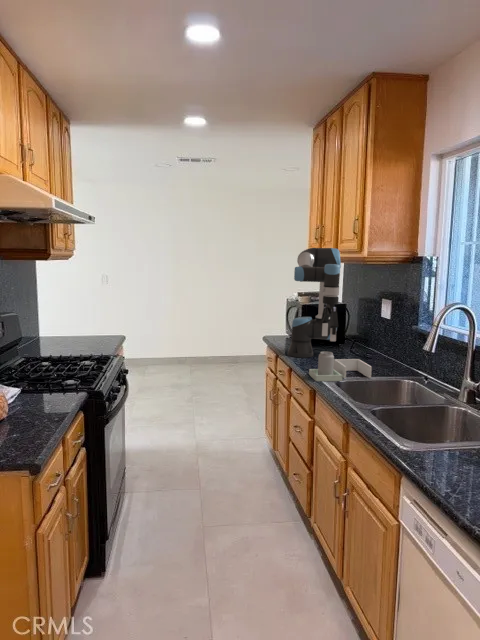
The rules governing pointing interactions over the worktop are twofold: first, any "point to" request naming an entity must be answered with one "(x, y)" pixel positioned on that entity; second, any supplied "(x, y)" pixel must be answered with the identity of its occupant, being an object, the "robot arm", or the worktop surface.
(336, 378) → the tray
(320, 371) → the can
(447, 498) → the worktop surface
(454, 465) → the worktop surface
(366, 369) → the bay
